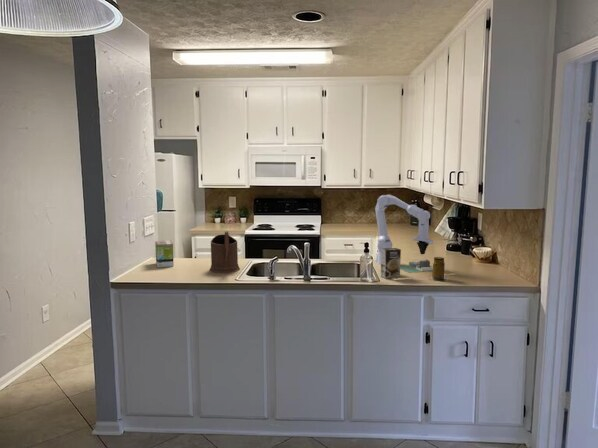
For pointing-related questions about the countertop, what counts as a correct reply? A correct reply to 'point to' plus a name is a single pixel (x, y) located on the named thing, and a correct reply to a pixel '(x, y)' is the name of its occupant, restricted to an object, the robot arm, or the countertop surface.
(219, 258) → the brown tall hollow container
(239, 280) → the countertop surface
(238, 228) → the countertop surface
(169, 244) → the tea box
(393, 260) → the coffee box
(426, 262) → the plug
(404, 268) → the board
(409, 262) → the grey knob block
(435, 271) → the condiment
